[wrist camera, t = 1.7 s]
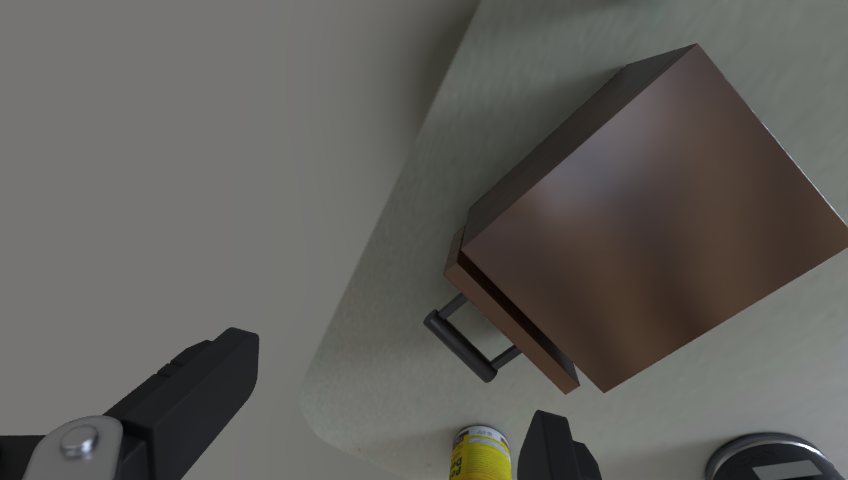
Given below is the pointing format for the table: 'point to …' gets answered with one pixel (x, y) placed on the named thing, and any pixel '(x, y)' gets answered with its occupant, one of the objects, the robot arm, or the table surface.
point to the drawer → (503, 317)
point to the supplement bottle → (480, 455)
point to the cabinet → (650, 218)
